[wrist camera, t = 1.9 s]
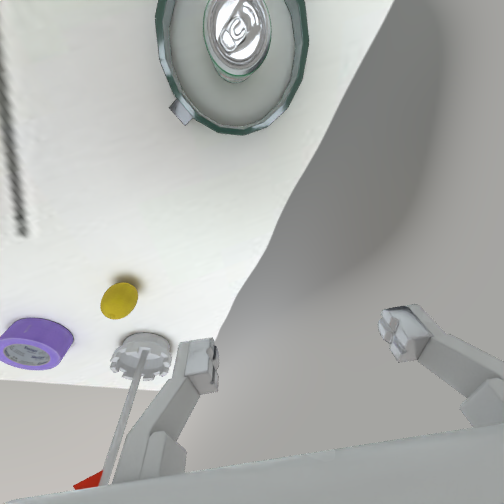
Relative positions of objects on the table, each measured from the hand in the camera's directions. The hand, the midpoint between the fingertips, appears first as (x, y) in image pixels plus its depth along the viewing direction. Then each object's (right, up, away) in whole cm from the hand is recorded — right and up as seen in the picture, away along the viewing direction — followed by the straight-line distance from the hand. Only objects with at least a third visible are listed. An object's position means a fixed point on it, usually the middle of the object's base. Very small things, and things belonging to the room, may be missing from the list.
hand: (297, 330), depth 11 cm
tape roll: (-49, -15, +39) cm, 64 cm away
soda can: (-4, +26, +15) cm, 31 cm away
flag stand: (-29, -20, +45) cm, 57 cm away
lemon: (-27, -3, +33) cm, 42 cm away
